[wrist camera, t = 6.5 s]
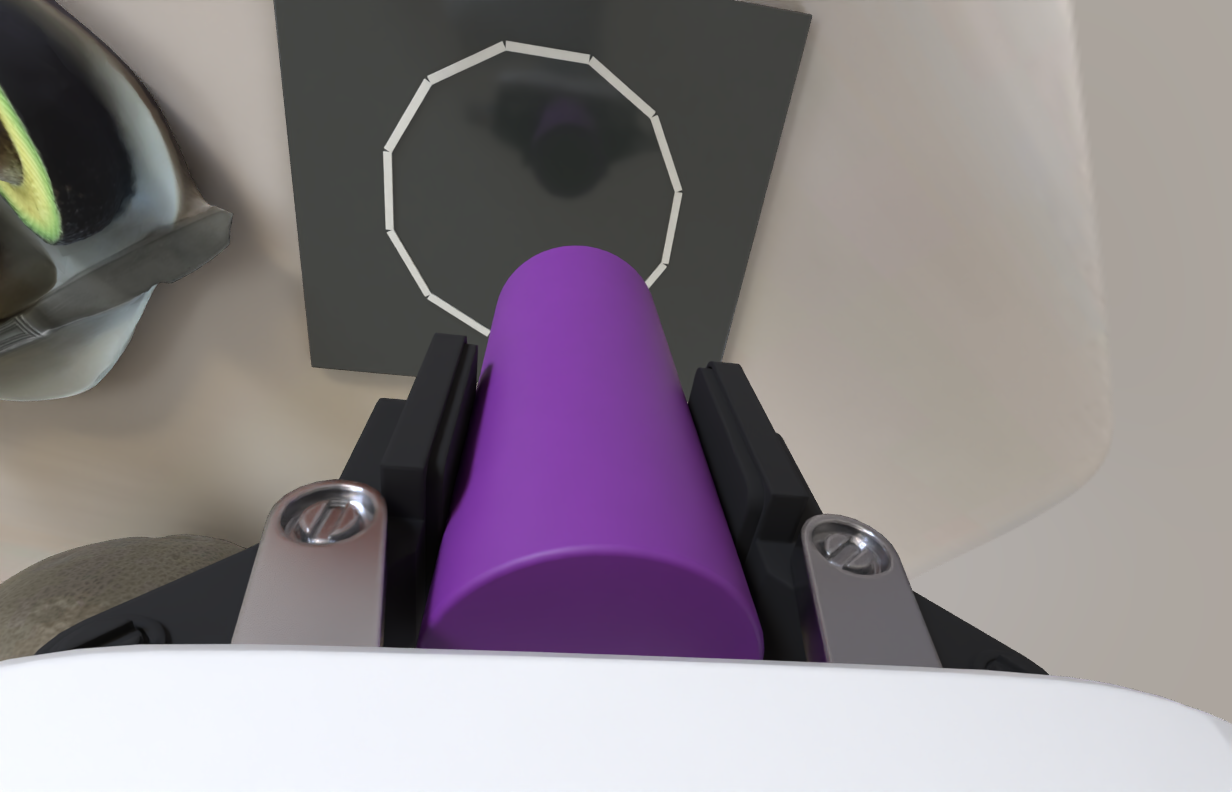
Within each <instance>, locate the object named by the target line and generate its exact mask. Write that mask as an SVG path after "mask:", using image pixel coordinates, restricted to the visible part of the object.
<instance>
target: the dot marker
mask: <svg viewBox="0 0 1232 792" xmlns="http://www.w3.org/2000/svg"><path fill="white" fill-rule="evenodd" d="M416 648H423V649H456V650H489V651H522V652H553V653H581V654H610V655H639V656H666V657H693V658H720V659H747V660H763V657H764V637H763V631H762V628H761V624H760V621H759V618H758V615H757V612H756V609H755V606H754V603H753V600H752V597H751V594H750V591H749V588H748V585H747V582H746V579H745V576H744V573H743V570H742V567H741V563H740V560H739V557H738V554H737V551H736V548H735V545H734V542H733V539H732V536H731V533H730V530H729V527H728V524H727V521H726V518H725V515H724V512H723V509H722V506H721V503H720V500H719V497H718V494H717V491H716V488H715V485H714V482H713V479H712V476H711V473H710V470H709V467H708V464H707V461H706V458H705V455H704V452H703V449H702V446H701V443H700V440H699V437H698V434H697V431H696V428H695V425H694V422H693V419H692V416H691V413H690V410H689V407H688V404H687V401H686V398H685V395H684V392H683V389H682V386H681V383H680V380H679V377H678V373H677V370H676V367H675V364H674V361H673V358H672V355H671V352H670V349H669V346H668V343H667V340H666V337H665V334H664V331H663V328H662V325H661V322H660V319H659V316H658V313H657V310H656V307H655V304H654V301H653V298H652V295H651V293H650V291H649V289H648V286H647V285H646V283H645V282H644V280H643V279H642V277H641V276H640V275H639V274H638V273H637V271H636V270H635V269H634V268H633V267H631V266H630V265H629V264H628V263H627V262H625V261H624V260H622V259H621V258H619V257H618V256H616V255H614V254H611V253H609V252H607V251H604V250H601V249H598V248H593V247H588V246H563V247H558V248H553V249H550V250H547V251H544V252H542V253H539V254H537V255H535V256H533V257H532V258H530V259H529V260H527V261H526V262H524V263H523V264H522V265H521V266H520V267H518V268H517V269H516V270H515V271H514V273H513V274H512V275H511V276H510V277H509V279H508V280H507V282H506V283H505V285H504V286H503V288H502V291H501V293H500V295H499V298H498V302H497V305H496V309H495V314H494V318H493V322H492V326H491V331H490V335H489V339H488V343H487V348H486V352H485V356H484V360H483V365H482V369H481V373H480V377H479V382H478V386H477V390H476V396H475V400H474V404H473V409H472V413H471V417H470V421H469V426H468V430H467V434H466V438H465V443H464V447H463V451H462V456H461V460H460V464H459V468H458V473H457V477H456V481H455V485H454V490H453V494H452V498H451V502H450V507H449V511H448V515H447V520H446V524H445V528H444V532H443V537H442V541H441V544H440V547H439V551H438V556H437V560H436V564H435V568H434V573H433V577H432V581H431V585H430V590H429V594H428V598H427V602H426V607H425V611H424V615H423V619H422V624H421V628H420V632H419V636H418V641H417V645H416Z"/></svg>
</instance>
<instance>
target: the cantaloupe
mask: <svg viewBox="0 0 1232 792" xmlns="http://www.w3.org/2000/svg"><path fill="white" fill-rule="evenodd" d="M245 549H246V548H243V547H240V546H238V545H236V544H233V543H231V542H228V541H225V540H221V539H215V538H211V537H205V536H196V535H172V536H167V537H162V538H149V537H129V538H122V539H115V540H109V541H104V542H100V543H95V544H90V545H86V546H82V547H78V548H75V549H71V550H68V551H65V552H62V553H59V554H56V555H54V556H51V557H49V558H46V559H44V560H42V561H40V562H38V563H36V564H34V565H32V566H30V567H28V568H26V569H24V570H23V571H21V572H19V573H18V574H16V575H14V576H12V577H11V578H9V579H8V580H6V581H5V582H3V583H2V584H0V661H4V660H8V659H13V658H20V657H27V656H33V655H34V654H35V653H36V652H37V651H38V649H40V648H41V647H42V646H44V645H45V644H46V643H47V642H49V641H50V640H51V639H53V638H54V637H55V636H56V635H58V634H59V633H61V632H62V631H64V630H66V629H68V628H70V627H72V626H74V625H75V624H77V623H79V622H81V621H83V620H85V619H87V618H90V617H92V616H94V615H97V614H99V613H101V612H103V611H106V610H108V609H110V608H113V607H115V606H117V605H119V604H122V603H124V602H126V601H129V600H131V599H133V598H135V597H138V596H140V595H142V594H145V593H147V592H149V591H151V590H154V589H156V588H158V587H161V586H163V585H165V584H167V583H170V582H172V581H174V580H177V579H179V578H181V577H183V576H186V575H188V574H190V573H193V572H195V571H197V570H199V569H202V568H204V567H206V566H209V565H211V564H213V563H215V562H218V561H220V560H222V559H225V558H227V557H229V556H231V555H234V554H236V553H238V552H241V551H243V550H245Z"/></svg>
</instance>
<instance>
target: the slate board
mask: <svg viewBox="0 0 1232 792" xmlns="http://www.w3.org/2000/svg"><path fill="white" fill-rule="evenodd" d="M273 1H274V10H275V20H276V30H277V39H278V49H279V58H280V68H281V77H282V87H283V97H284V106H285V116H286V125H287V135H288V145H289V154H290V164H291V173H292V183H293V192H294V202H295V212H296V221H297V231H298V240H299V250H300V260H301V269H302V279H303V288H304V298H305V307H306V317H307V327H308V336H309V346H310V355H311V365H312V367H316V368H327V369H338V370H349V371H359V372H370V373H381V374H392V375H403V376H414V377H417V374H418V372H419V370H420V367H421V365H422V362H423V360H424V358H425V355H426V353H427V350H428V348H429V346H430V343H431V341H432V338H433V336H434V334H435V333H444V334H453V335H463V336H467V344H474V345H478V362H477V382H479V377H480V373H481V369H482V365H483V360H484V356H485V352H486V348H487V343H488V339H489V335H490V331H491V326H492V322H493V318H494V314H495V309H496V305H497V302H498V298H499V295H500V293H501V291H502V288H503V286H504V285H505V283H506V282H507V280H508V279H509V277H510V276H511V275H512V274H513V273H514V271H515V270H516V269H517V268H518V267H520V266H521V265H522V264H523V263H524V262H526V261H527V260H529V259H530V258H532V257H533V256H535V255H537V254H539V253H542V252H544V251H547V250H550V249H553V248H558V247H563V246H588V247H593V248H598V249H601V250H604V251H607V252H609V253H611V254H614V255H616V256H618V257H619V258H621V259H622V260H624V261H625V262H627V263H628V264H629V265H630V266H631V267H633V268H634V269H635V270H636V271H637V273H638V274H639V275H640V276H641V277H642V279H643V280H644V282H645V283H646V285H647V286H648V289H649V291H650V293H651V295H652V298H653V301H654V304H655V307H656V310H657V313H658V316H659V319H660V322H661V325H662V328H663V331H664V334H665V337H666V340H667V343H668V346H669V349H670V352H671V355H672V358H673V361H674V364H675V367H676V370H677V373H678V377H679V380H680V383H681V386H682V389H683V392H684V395H685V398H686V401H687V402H689V398H690V393H691V389H692V385H693V381H694V377H695V373H696V371H697V369H698V368H699V367H700V368H706V366H707V364H708V363H709V362H710V361H715V362H721V361H722V358H723V354H724V350H725V346H726V342H727V339H728V335H729V331H730V327H731V323H732V320H733V316H734V312H735V308H736V304H737V301H738V297H739V293H740V289H741V285H742V282H743V278H744V274H745V270H746V266H747V263H748V259H749V255H750V251H751V247H752V244H753V240H754V236H755V232H756V228H757V225H758V221H759V217H760V213H761V209H762V206H763V202H764V198H765V194H766V190H767V187H768V183H769V179H770V175H771V171H772V168H773V164H774V160H775V156H776V152H777V149H778V145H779V141H780V137H781V133H782V130H783V126H784V122H785V118H786V114H787V111H788V107H789V103H790V99H791V95H792V92H793V88H794V84H795V80H796V76H797V73H798V69H799V65H800V61H801V57H802V53H803V50H804V46H805V42H806V38H807V34H808V31H809V27H810V23H811V19H812V15H811V14H806V13H801V12H796V11H790V10H785V9H779V8H774V7H769V6H763V5H758V4H752V3H747V2H742V1H736V0H273Z"/></svg>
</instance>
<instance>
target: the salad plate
mask: <svg viewBox="0 0 1232 792" xmlns="http://www.w3.org/2000/svg"><path fill="white" fill-rule="evenodd" d="M232 215H233V213H231V212H229V211H227V210H224V209H221V208H219V207H217V206H211V205H209V204H208V203H207V202H206V201H205V200H204V198H203V197H202V195H201V194H200V192H199V191H198V189H197V187H196V185H195V184H194V182H193V180H192V178H191V176H190V173H189V171H188V168H187V166H186V163H185V161H184V158H183V156H182V153H181V151H180V148H179V146H178V144H177V142H176V140H175V138H174V136H173V134H172V132H171V130H170V128H169V126H168V124H167V122H166V120H165V118H164V116H163V114H162V112H161V110H160V109H159V107H158V106H157V104H156V103H155V101H154V100H153V98H152V96H151V95H150V93H149V91H148V90H147V89H146V87H145V86H144V85H143V84H142V83H141V82H140V81H139V79H138V78H137V77H136V76H135V74H134V73H133V72H132V71H131V70H130V68H129V67H128V66H127V65H126V64H125V63H124V62H123V61H122V60H121V59H120V58H119V57H118V56H117V55H116V54H115V53H114V52H113V51H112V50H111V49H110V48H109V47H108V46H107V45H106V44H105V43H104V42H102V41H101V40H100V39H99V38H98V37H97V36H96V35H95V34H93V33H92V32H91V31H90V30H89V29H88V28H87V27H85V26H84V25H83V24H82V23H80V22H79V21H78V20H77V19H76V18H74V17H73V16H72V15H71V14H69V13H68V12H67V11H66V10H65V9H63V8H62V7H61V6H60V5H59V4H58V3H57V2H55V1H54V0H0V399H1V400H7V401H40V400H50V399H58V398H64V397H70V396H73V395H77V394H80V393H83V392H85V391H87V390H89V389H91V388H93V387H94V386H96V385H97V384H98V383H99V382H100V381H101V380H102V379H103V377H105V376H106V374H107V373H108V372H109V371H110V370H111V369H112V368H113V366H114V365H115V363H116V362H117V361H118V359H119V358H120V357H121V355H122V354H123V352H124V351H125V349H126V347H127V346H128V344H129V342H130V341H131V339H132V336H133V334H134V331H135V328H136V325H137V323H138V321H139V319H140V318H141V316H142V314H143V312H144V310H145V308H146V305H147V302H148V300H149V298H150V297H151V295H152V293H153V291H154V289H155V288H156V286H157V285H158V283H161V282H166V283H173V282H175V281H177V280H179V279H181V278H183V277H185V276H187V275H188V274H190V273H192V272H194V271H195V270H197V269H198V268H200V267H201V266H202V265H204V264H206V263H208V262H209V261H210V260H212V259H213V258H214V257H215V256H217V255H218V254H219V253H220V252H221V251H223V250H224V249H225V248H226V247H227V246H228V245H229V244H230V226H231V223H232Z"/></svg>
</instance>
